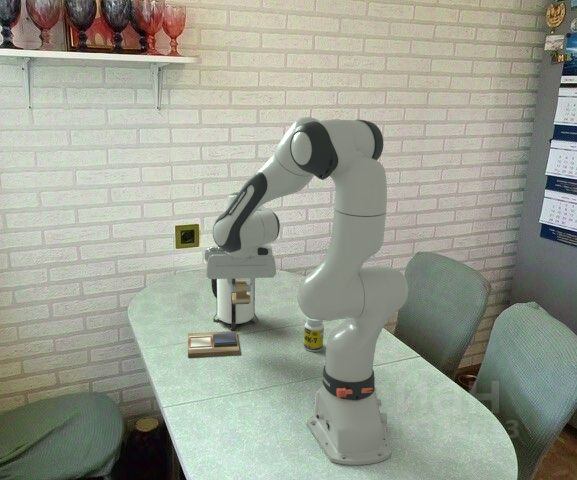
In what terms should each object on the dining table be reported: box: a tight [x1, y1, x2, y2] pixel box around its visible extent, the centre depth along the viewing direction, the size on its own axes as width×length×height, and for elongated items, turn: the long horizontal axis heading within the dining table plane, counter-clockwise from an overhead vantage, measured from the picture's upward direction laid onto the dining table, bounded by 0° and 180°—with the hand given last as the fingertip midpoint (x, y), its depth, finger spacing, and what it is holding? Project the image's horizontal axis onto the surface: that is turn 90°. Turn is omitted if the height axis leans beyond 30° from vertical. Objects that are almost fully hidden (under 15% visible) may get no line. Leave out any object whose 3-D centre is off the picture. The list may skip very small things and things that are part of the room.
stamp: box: [232, 280, 251, 304], centre depth 166 cm, size 5×5×6 cm
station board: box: [187, 330, 241, 358], centre depth 171 cm, size 13×15×2 cm
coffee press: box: [210, 245, 259, 331], centre depth 184 cm, size 17×16×30 cm
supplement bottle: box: [303, 316, 325, 353], centre depth 170 cm, size 6×6×10 cm
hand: (240, 291), depth 166 cm, fingers closed on stamp, 3 cm apart
